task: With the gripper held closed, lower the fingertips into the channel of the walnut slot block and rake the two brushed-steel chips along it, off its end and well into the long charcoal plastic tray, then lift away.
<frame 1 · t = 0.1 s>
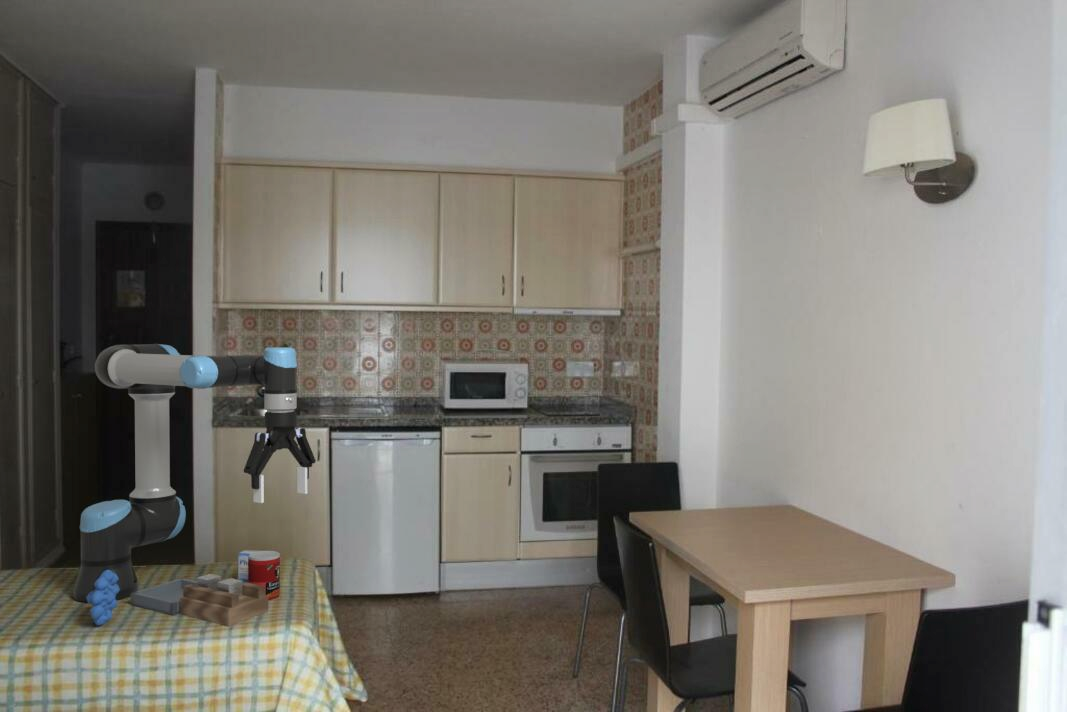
hand: (281, 497, 206), 28 cm above the table, tool pointing down, fingers open, 13 cm apart
chip a: (208, 593, 208), point 4 cm above the table, touching slot block
slot block: (224, 612, 205), on the table
chip b: (229, 597, 204), point 4 cm above the table, touching slot block
canned food: (264, 597, 218), on the table
medicine box: (255, 584, 230), on the table
grapes: (101, 623, 198), on the table
tray: (177, 601, 214), on the table
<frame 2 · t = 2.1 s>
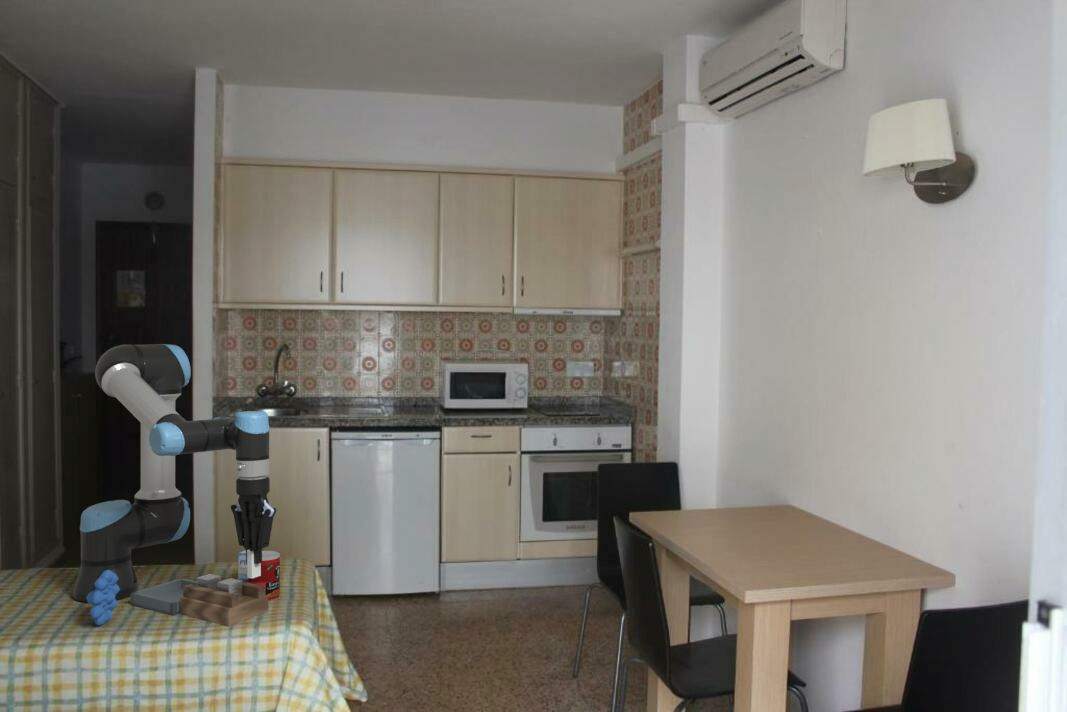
hand: (254, 576, 200), 10 cm above the table, tool pointing down, fingers closed
nothing on the table moved.
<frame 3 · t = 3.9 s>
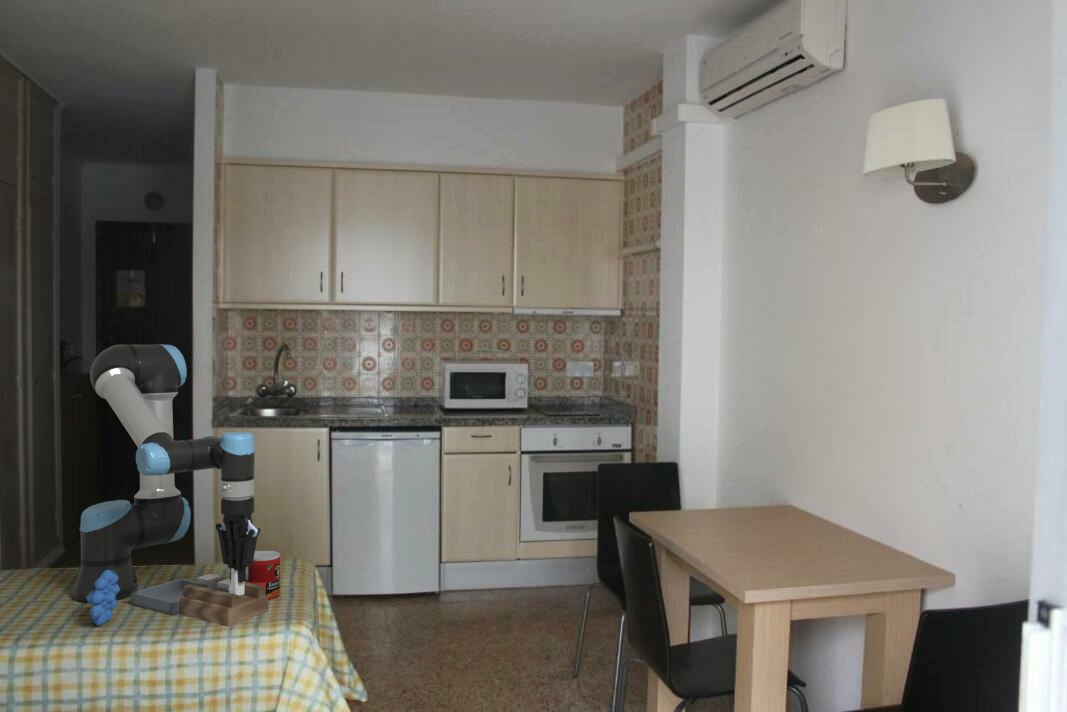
hand: (237, 594, 203), 5 cm above the table, tool pointing down, fingers closed
chip b: (229, 597, 204), point 4 cm above the table, touching gripper
everything else where it was.
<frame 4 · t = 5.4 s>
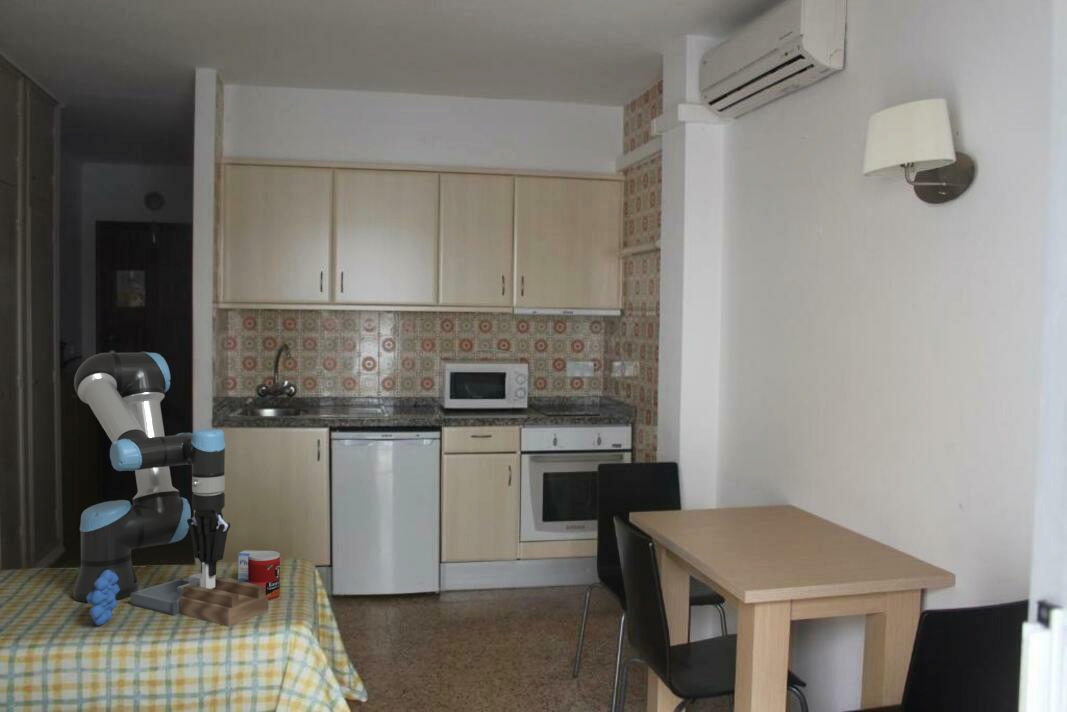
hand: (208, 588, 208), 5 cm above the table, tool pointing down, fingers closed
chip a: (194, 595, 210), point 3 cm above the table, tilted 90°, touching tray
chip b: (201, 591, 209), point 4 cm above the table, touching gripper
everything else where it was.
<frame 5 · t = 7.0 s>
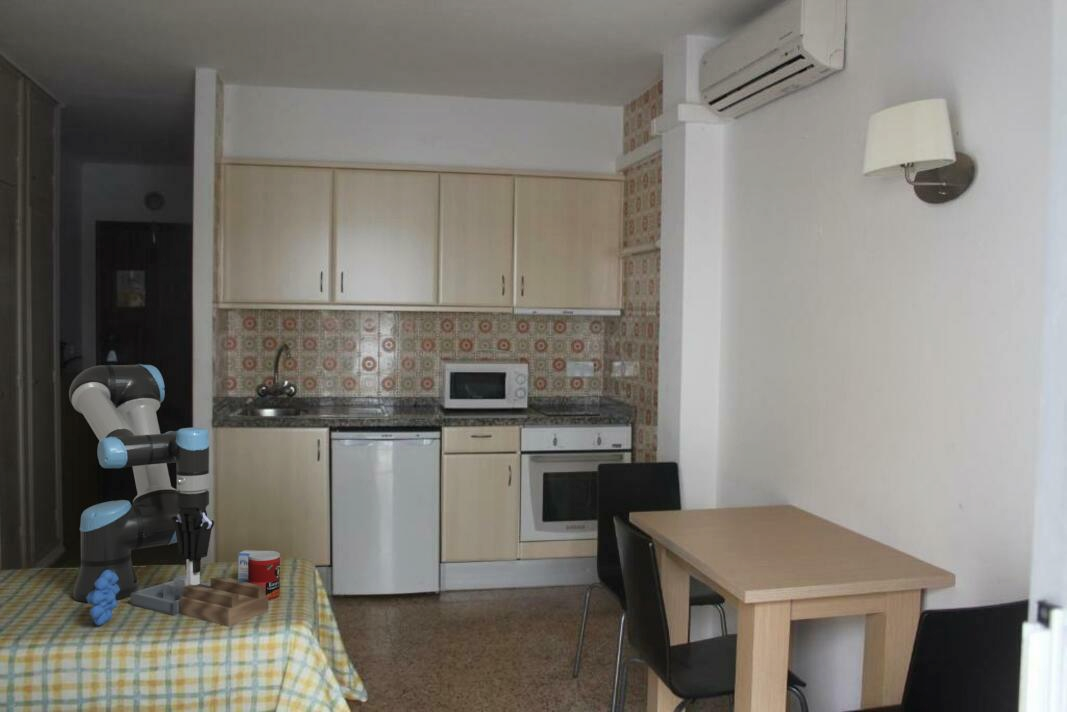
hand: (193, 584, 211), 5 cm above the table, tool pointing down, fingers closed
chip a: (180, 591, 213), point 3 cm above the table, tilted 91°, touching chip b, tray
chip b: (185, 593, 212), point 3 cm above the table, touching chip a, gripper
everything else where it was.
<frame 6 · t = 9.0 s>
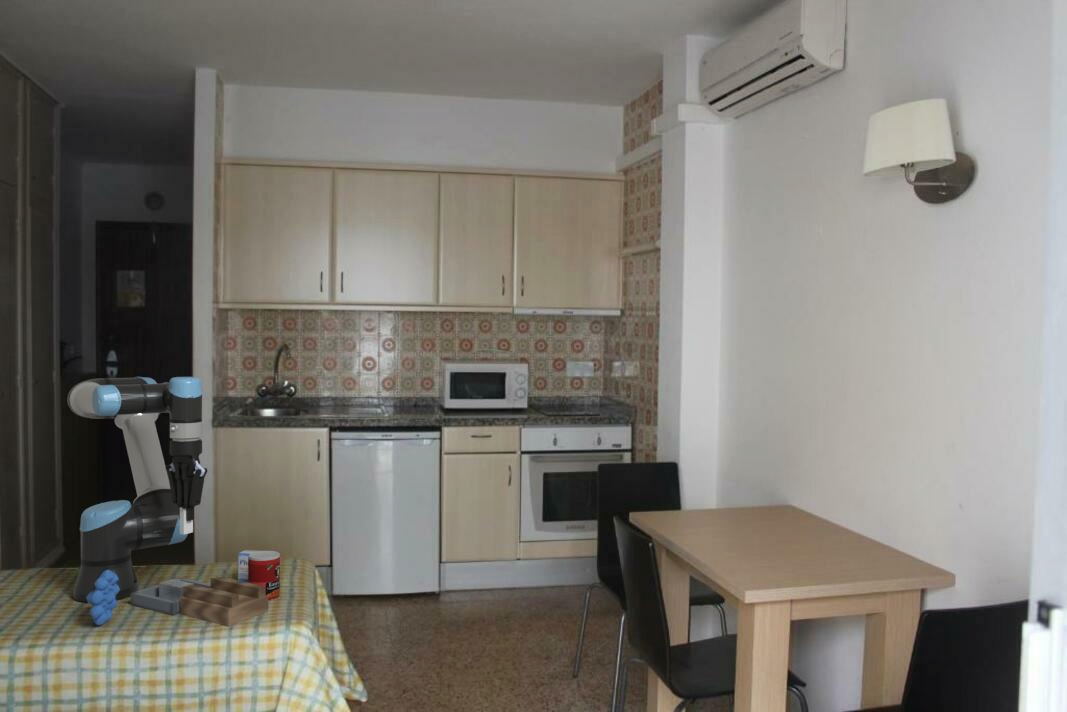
hand: (186, 532, 212), 18 cm above the table, tool pointing down, fingers closed
chip a: (176, 591, 214), point 3 cm above the table, tilted 90°, touching tray
chip b: (181, 600, 213), point 1 cm above the table, touching tray
everything else where it was.
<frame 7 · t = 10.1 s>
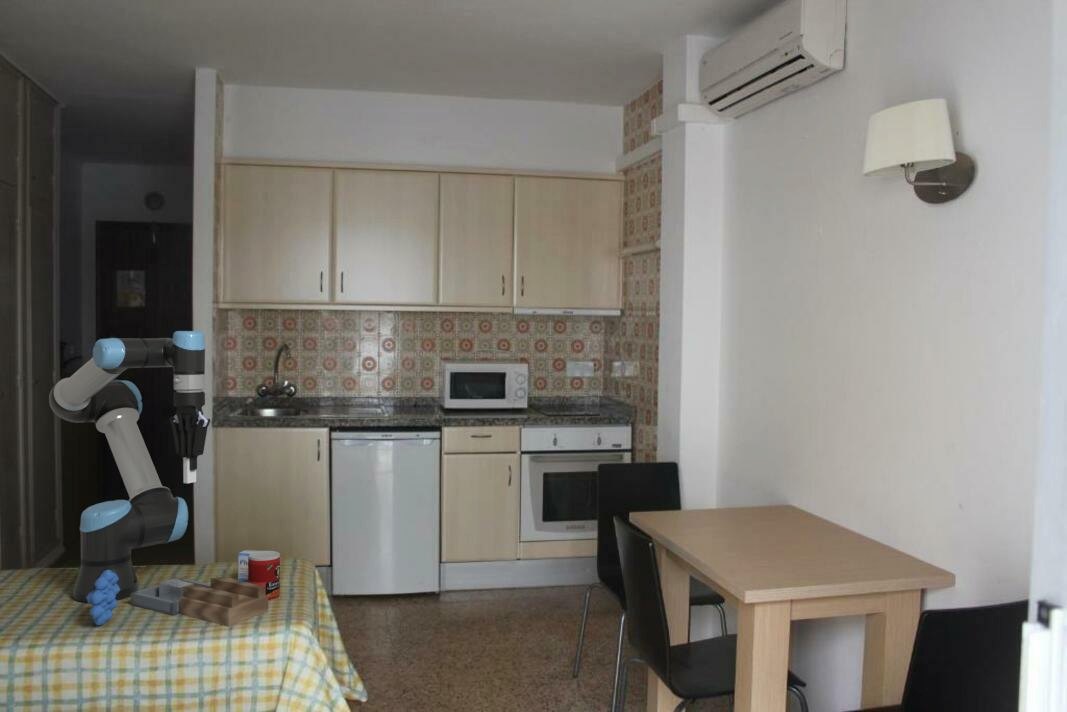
hand: (189, 482, 218), 29 cm above the table, tool pointing down, fingers closed
nothing on the table moved.
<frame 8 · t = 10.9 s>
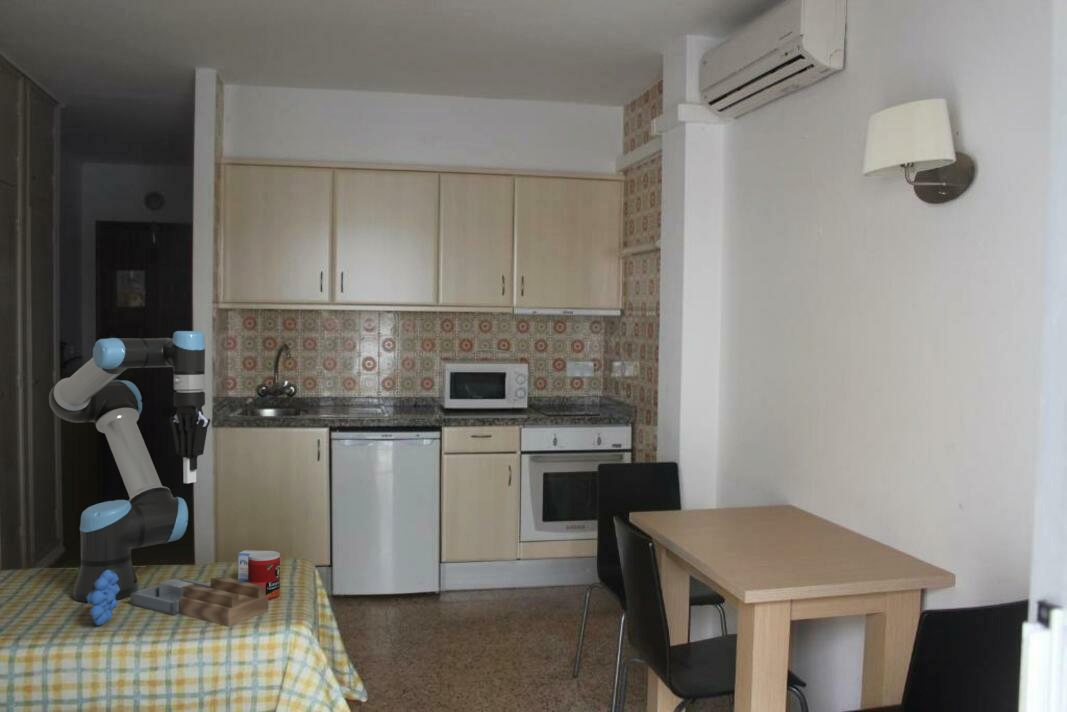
hand: (189, 482, 218), 29 cm above the table, tool pointing down, fingers closed
nothing on the table moved.
at the end: chip a inside the target area on the tray (0.4 cm from its centre), point 2.6 cm above the tray's base; chip b inside the target area on the tray (1.6 cm from its centre), point 0.6 cm above the tray's base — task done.
